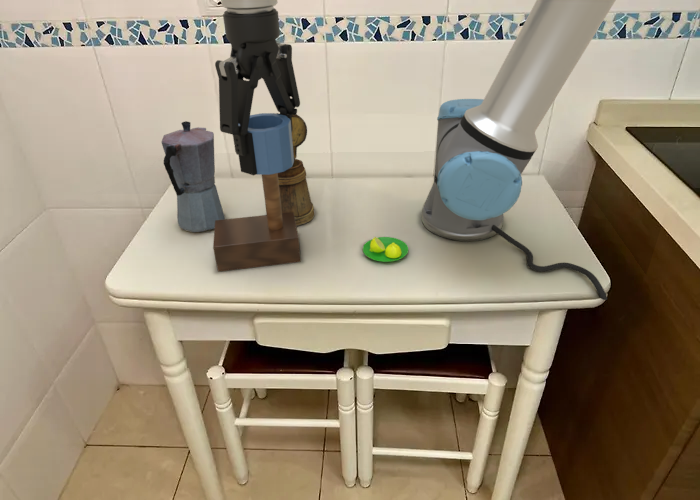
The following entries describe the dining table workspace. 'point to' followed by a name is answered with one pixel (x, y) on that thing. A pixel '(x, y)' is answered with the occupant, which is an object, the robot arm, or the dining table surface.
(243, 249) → the peg box
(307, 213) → the wooden mug
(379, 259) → the green plate
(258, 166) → the blue faceted cup
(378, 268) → the dining table surface
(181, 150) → the moka pot
